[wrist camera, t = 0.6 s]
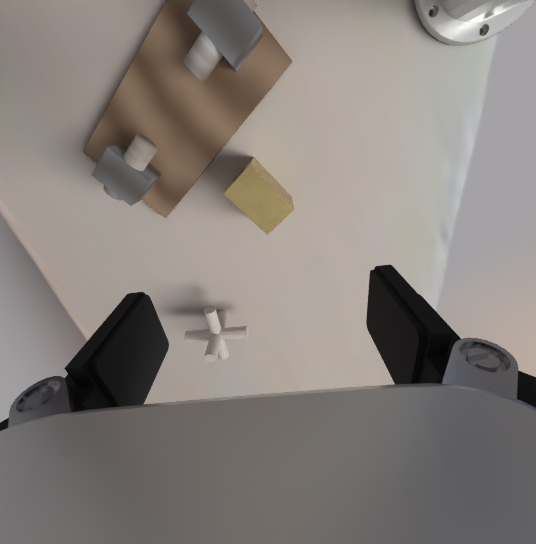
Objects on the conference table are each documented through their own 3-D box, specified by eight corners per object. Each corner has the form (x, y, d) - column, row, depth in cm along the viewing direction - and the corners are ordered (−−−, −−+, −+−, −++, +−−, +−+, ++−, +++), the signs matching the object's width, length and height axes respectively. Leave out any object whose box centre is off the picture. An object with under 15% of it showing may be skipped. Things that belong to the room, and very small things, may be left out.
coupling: (230, 182, 35) (223, 193, 30) (253, 156, 33) (249, 163, 28) (268, 218, 37) (267, 235, 32) (291, 196, 36) (294, 209, 30)
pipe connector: (187, 293, 44) (166, 336, 36) (245, 288, 43) (237, 330, 35) (202, 336, 49) (186, 383, 41) (254, 332, 48) (249, 379, 40)
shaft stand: (202, -52, 24) (185, -93, 19) (291, 62, 28) (294, 51, 24) (88, 150, 33) (58, 156, 29) (168, 215, 37) (152, 229, 33)
